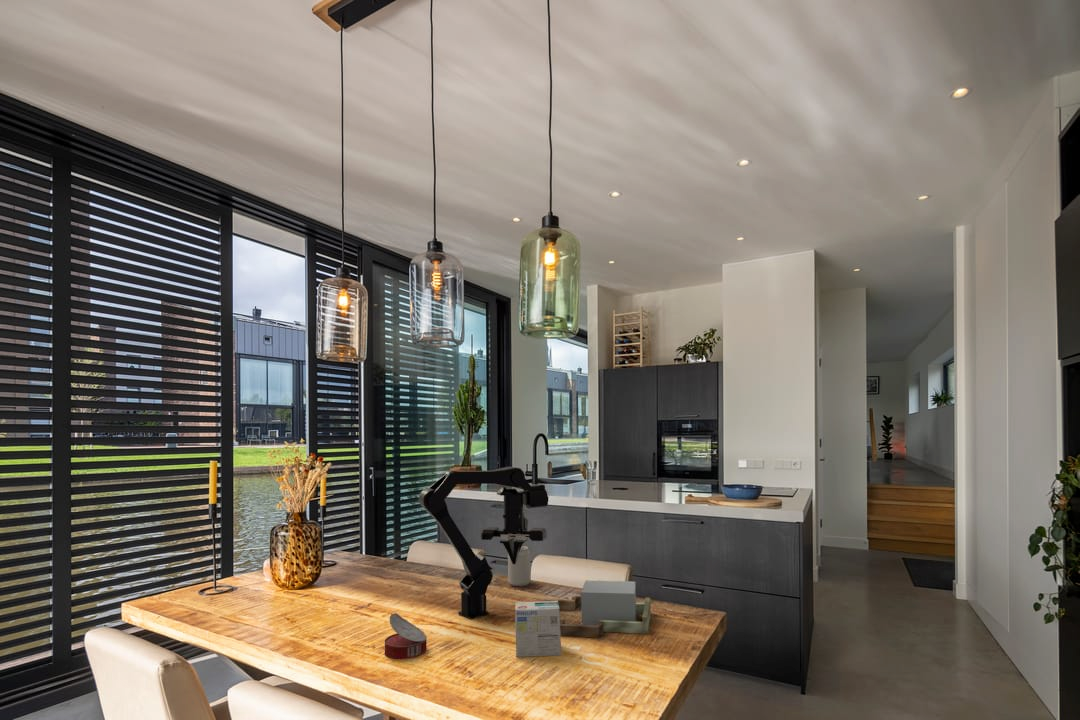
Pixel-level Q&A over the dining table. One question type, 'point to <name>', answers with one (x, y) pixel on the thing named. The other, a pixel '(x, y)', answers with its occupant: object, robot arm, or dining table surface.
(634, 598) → the block
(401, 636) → the canned food
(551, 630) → the light bulb box
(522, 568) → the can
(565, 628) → the lane
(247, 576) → the dining table surface
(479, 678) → the dining table surface
